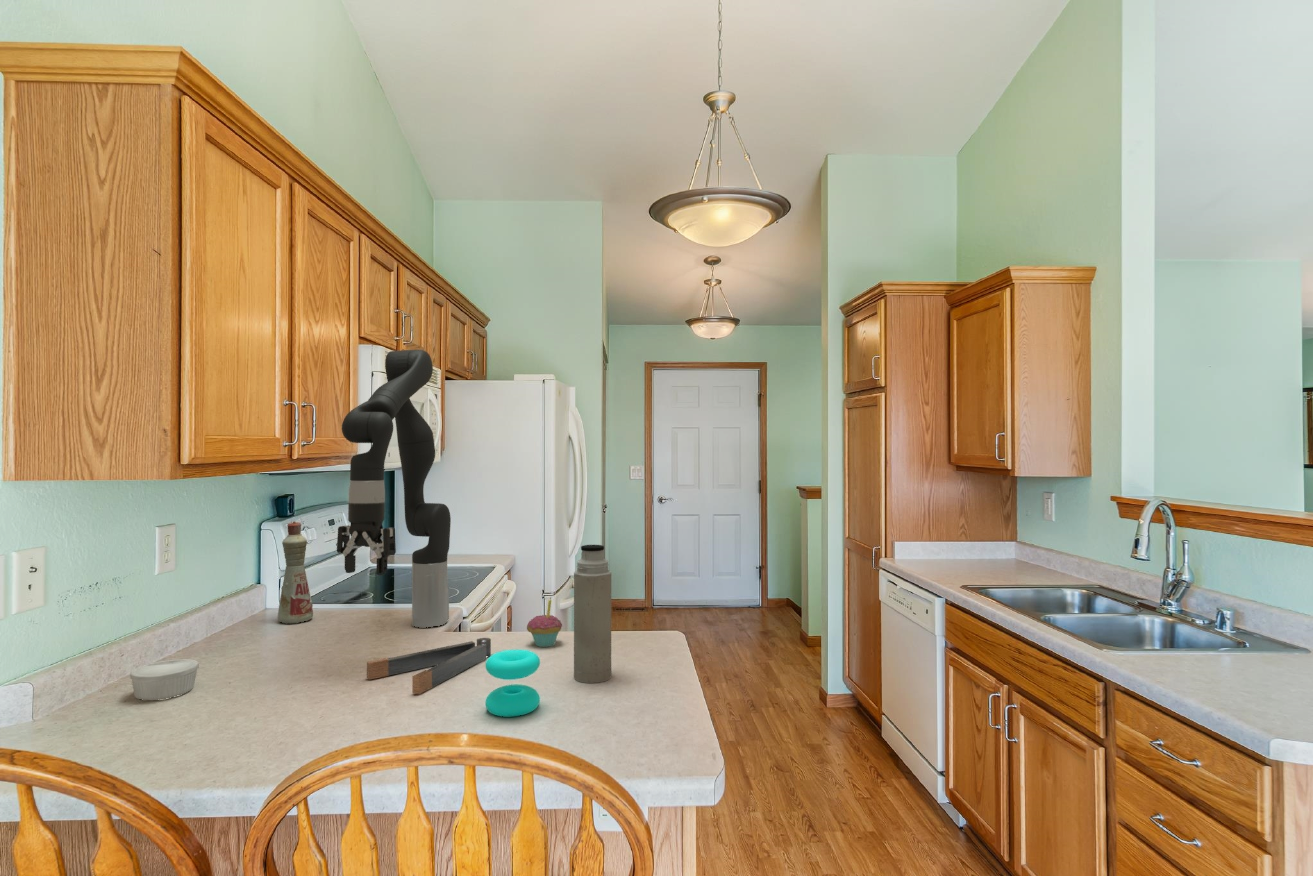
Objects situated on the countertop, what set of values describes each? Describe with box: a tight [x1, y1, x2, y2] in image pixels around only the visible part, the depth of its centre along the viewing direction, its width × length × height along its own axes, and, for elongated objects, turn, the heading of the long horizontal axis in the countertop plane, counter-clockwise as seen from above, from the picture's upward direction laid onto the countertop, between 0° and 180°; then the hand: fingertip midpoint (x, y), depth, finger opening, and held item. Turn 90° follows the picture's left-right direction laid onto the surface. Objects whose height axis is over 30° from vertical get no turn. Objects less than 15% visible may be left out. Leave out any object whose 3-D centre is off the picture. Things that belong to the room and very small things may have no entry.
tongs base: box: [411, 637, 492, 695], centre depth 150 cm, size 28×4×4 cm, turn 161°
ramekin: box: [129, 658, 200, 700], centre depth 138 cm, size 11×11×5 cm
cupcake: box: [526, 596, 563, 648], centre depth 171 cm, size 9×8×12 cm
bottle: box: [277, 520, 314, 624], centre depth 194 cm, size 9×9×28 cm
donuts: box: [485, 649, 541, 718], centre depth 130 cm, size 10×10×10 cm
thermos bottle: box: [573, 544, 612, 684], centre depth 147 cm, size 8×8×28 cm
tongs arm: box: [366, 640, 476, 681], centre depth 153 cm, size 24×2×3 cm, turn 131°
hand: (365, 573), depth 154 cm, fingers open, 8 cm apart
